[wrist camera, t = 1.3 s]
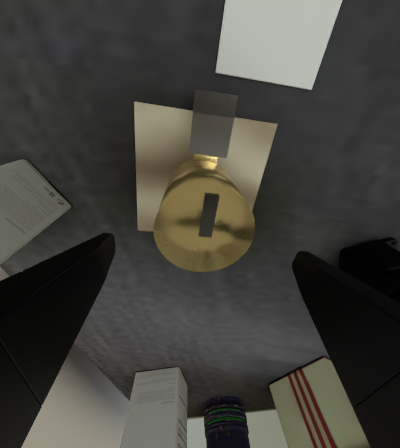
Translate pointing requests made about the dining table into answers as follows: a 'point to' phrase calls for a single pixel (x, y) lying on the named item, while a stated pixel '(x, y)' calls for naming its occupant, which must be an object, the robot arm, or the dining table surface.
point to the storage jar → (225, 422)
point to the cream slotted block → (196, 147)
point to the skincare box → (25, 206)
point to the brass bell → (203, 217)
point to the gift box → (316, 409)
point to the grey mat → (275, 40)
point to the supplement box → (157, 411)
